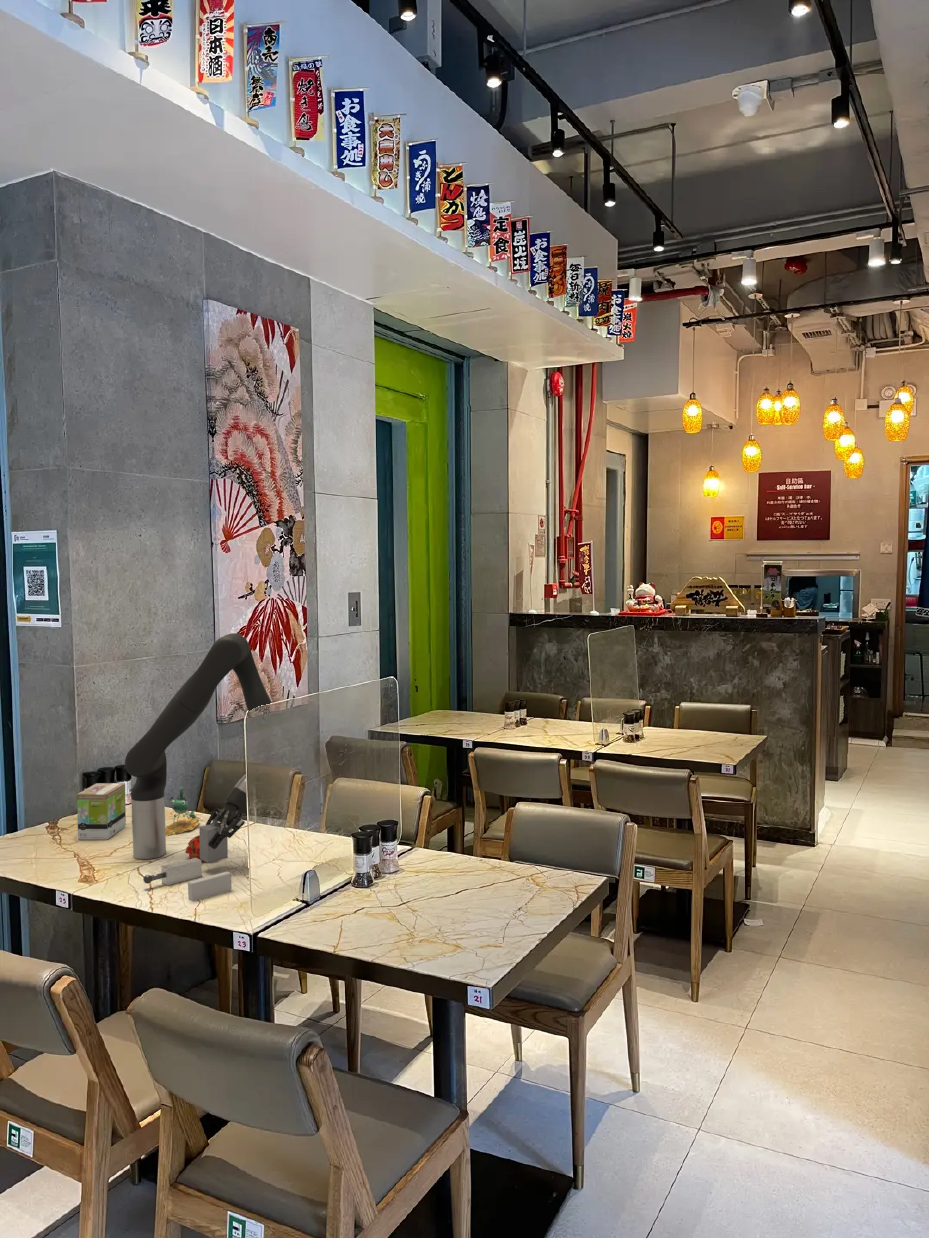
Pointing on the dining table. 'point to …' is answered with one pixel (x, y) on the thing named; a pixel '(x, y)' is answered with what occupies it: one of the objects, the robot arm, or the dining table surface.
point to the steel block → (205, 838)
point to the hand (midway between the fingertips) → (207, 844)
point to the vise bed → (209, 886)
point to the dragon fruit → (194, 848)
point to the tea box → (101, 811)
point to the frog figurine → (183, 825)
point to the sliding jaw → (177, 872)
